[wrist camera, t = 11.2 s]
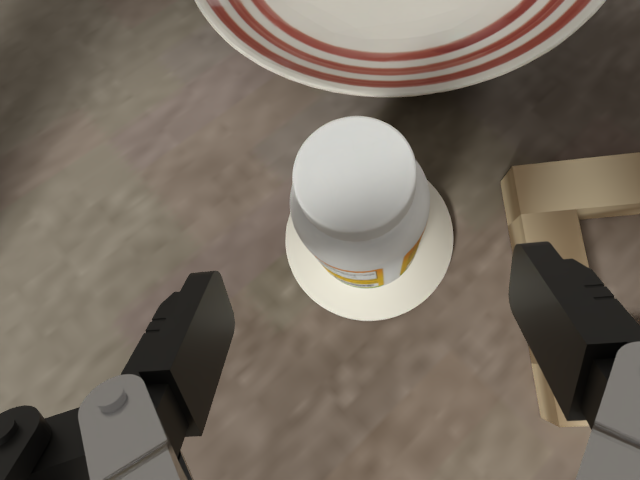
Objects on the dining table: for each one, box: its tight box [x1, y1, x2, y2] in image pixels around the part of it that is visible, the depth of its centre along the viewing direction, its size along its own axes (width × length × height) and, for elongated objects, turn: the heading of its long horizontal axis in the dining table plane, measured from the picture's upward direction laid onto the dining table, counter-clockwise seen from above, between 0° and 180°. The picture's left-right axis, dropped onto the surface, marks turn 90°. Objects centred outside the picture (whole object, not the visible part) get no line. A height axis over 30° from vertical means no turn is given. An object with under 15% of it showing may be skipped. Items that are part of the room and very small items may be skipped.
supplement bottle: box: [290, 116, 430, 289], centre depth 18 cm, size 5×5×10 cm
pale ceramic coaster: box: [286, 180, 453, 321], centre depth 23 cm, size 9×9×1 cm
